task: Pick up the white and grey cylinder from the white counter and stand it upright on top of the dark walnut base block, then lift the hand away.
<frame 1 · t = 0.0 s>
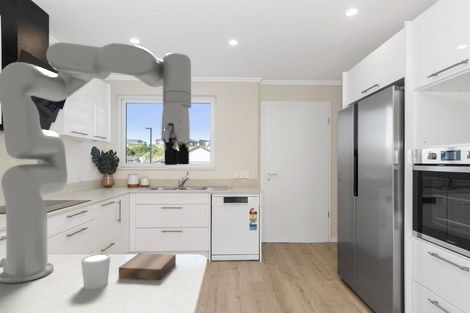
hand: (177, 164, 75), 31 cm above the counter, fingers open, 9 cm apart
walnut base: (149, 270, 82), on the counter
white and grey cylinder: (96, 285, 73), on the counter
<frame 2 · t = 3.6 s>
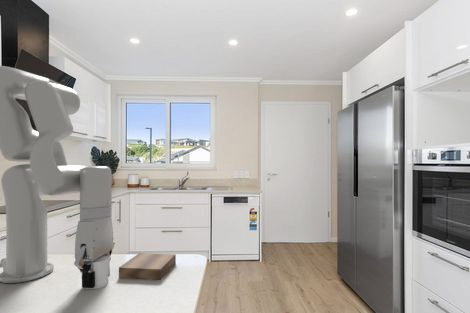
hand: (96, 281, 73), 1 cm above the counter, fingers closed on white and grey cylinder, 5 cm apart
white and grey cylinder: (96, 285, 73), on the counter, touching gripper
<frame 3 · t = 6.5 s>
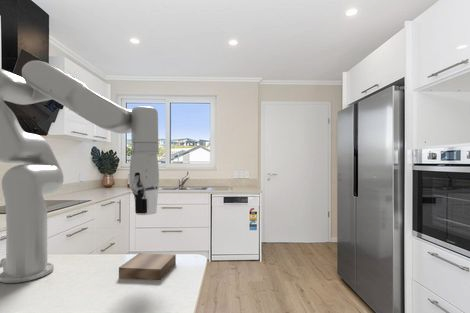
hand: (146, 210, 81), 18 cm above the counter, fingers closed on white and grey cylinder, 5 cm apart
white and grey cylinder: (146, 214, 81), point 17 cm above the counter, touching gripper
when the fingers open (5 cm above the counter, at t = 9.8 s): white and grey cylinder drops 1 cm, resting on walnut base.
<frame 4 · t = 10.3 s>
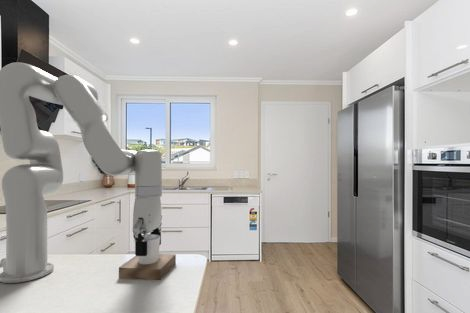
hand: (148, 250, 82), 6 cm above the counter, fingers open, 9 cm apart
white and grey cylinder: (148, 261, 81), point 3 cm above the counter, touching walnut base
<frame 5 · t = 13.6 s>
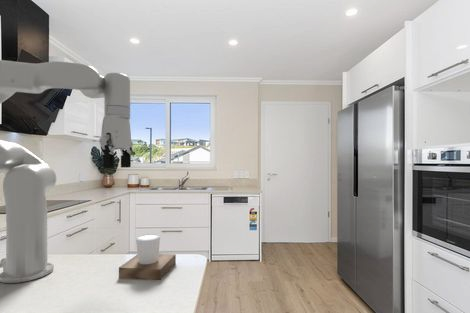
hand: (117, 167, 88), 30 cm above the counter, fingers open, 9 cm apart
nothing on the counter moved.
at the end: white and grey cylinder 0.2 cm off-centre on the walnut base, point 2.8 cm above the walnut base's base; white and grey cylinder tilted 0°; the gripper is holding nothing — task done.
